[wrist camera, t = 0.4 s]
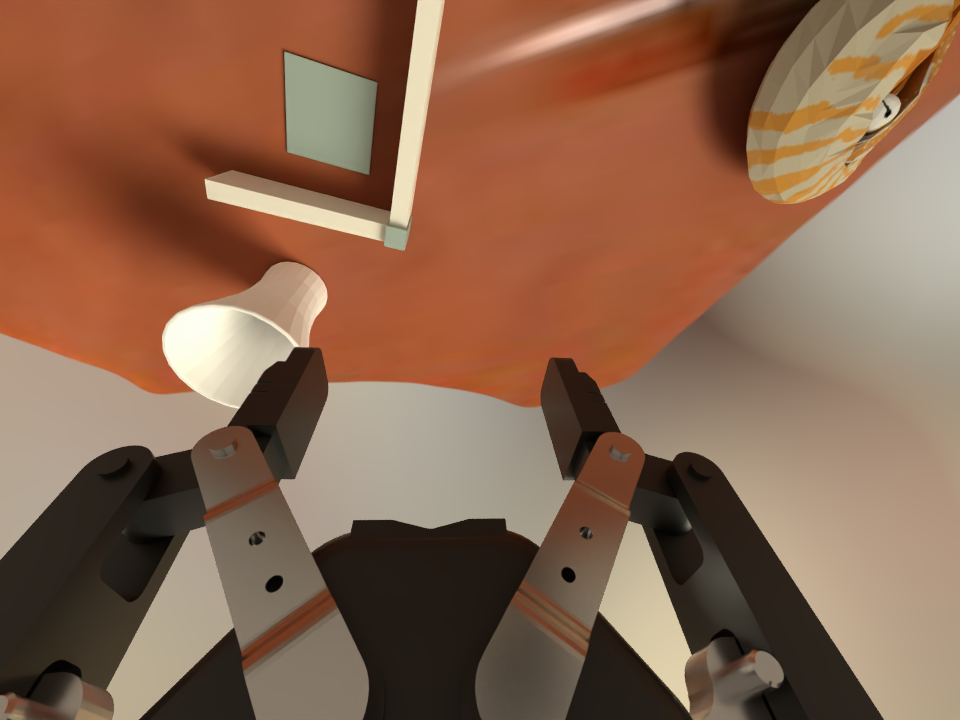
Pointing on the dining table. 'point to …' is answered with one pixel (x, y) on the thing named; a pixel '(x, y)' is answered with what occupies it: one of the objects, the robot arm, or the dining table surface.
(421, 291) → the dining table surface
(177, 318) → the cup
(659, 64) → the dining table surface
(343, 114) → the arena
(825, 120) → the nautilus
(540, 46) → the dining table surface
